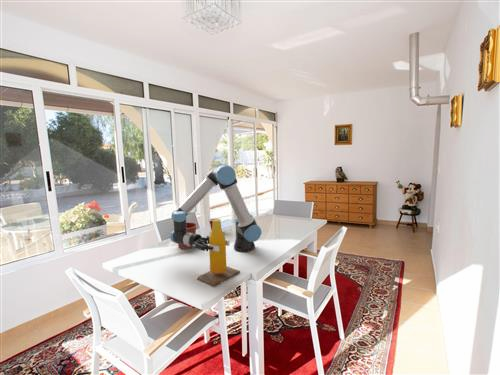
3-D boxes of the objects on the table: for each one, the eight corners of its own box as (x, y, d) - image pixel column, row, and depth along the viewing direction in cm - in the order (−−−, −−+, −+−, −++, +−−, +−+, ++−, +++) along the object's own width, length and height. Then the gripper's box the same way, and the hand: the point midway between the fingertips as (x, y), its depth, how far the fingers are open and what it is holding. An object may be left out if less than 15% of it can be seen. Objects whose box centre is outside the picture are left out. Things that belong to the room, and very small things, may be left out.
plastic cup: (222, 230, 236) (221, 217, 234) (221, 234, 225) (220, 220, 223) (209, 230, 235) (209, 217, 234) (208, 234, 225) (207, 220, 223)
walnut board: (222, 266, 161) (222, 264, 161) (239, 272, 153) (239, 270, 153) (197, 279, 146) (196, 277, 146) (214, 287, 137) (214, 284, 137)
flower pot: (192, 250, 188) (191, 229, 186) (171, 249, 192) (169, 228, 189) (201, 242, 204) (200, 222, 202) (181, 242, 208) (180, 222, 205)
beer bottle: (218, 265, 155) (216, 217, 151) (230, 269, 149) (228, 219, 146) (206, 271, 148) (204, 220, 144) (218, 275, 142) (216, 223, 138)
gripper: (205, 240, 166) (235, 246, 154) (179, 252, 147) (212, 259, 136) (204, 228, 165) (234, 233, 153) (179, 239, 146) (211, 245, 135)
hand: (224, 246), depth 145 cm, fingers closed on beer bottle, 9 cm apart
